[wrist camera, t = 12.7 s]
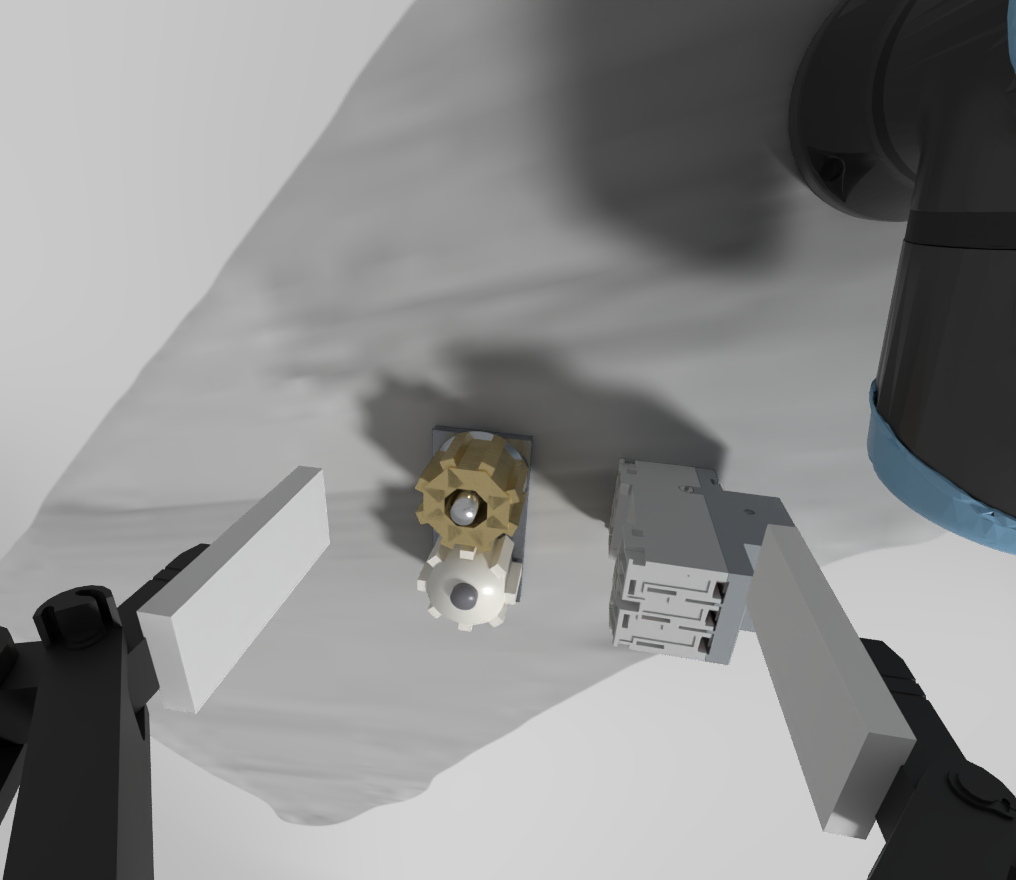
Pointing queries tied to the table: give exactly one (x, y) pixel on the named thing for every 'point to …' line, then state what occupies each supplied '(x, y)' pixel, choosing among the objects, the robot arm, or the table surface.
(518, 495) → the brass gear
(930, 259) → the robot arm
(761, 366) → the table surface
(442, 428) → the gear plate
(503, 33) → the table surface
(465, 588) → the gear
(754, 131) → the table surface
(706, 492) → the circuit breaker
